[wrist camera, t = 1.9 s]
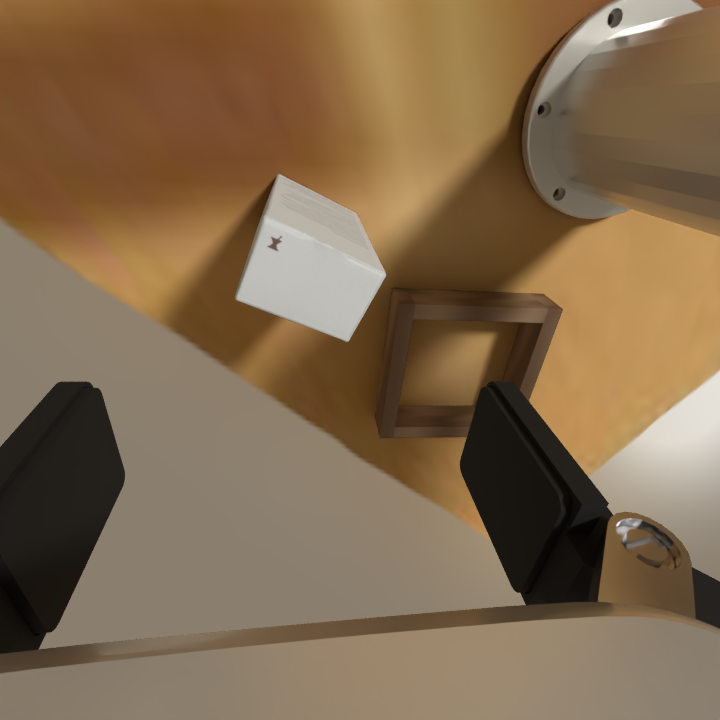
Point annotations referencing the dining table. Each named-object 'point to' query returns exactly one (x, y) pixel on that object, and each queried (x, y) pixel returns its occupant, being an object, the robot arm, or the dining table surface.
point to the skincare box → (310, 262)
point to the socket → (459, 306)
